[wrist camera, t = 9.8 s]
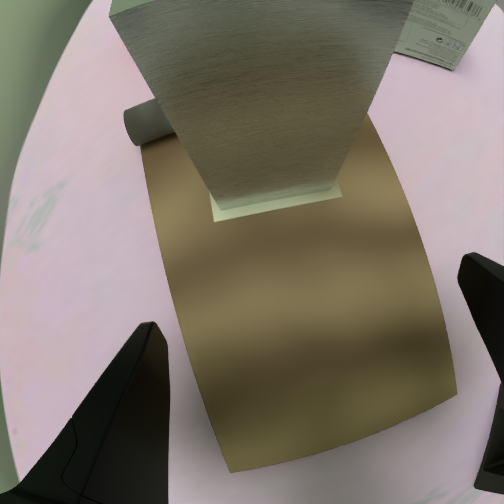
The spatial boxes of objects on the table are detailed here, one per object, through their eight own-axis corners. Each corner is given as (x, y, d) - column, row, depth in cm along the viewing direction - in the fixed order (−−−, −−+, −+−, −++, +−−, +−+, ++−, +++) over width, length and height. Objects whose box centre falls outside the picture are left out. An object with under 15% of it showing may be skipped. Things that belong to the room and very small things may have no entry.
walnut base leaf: (448, 389, 15) (478, 404, 12) (232, 463, 16) (224, 494, 12) (338, 78, 19) (347, 43, 16) (143, 131, 19) (122, 103, 16)
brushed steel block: (330, 190, 17) (420, -17, 4) (220, 210, 17) (108, 16, 4) (306, 111, 17) (330, -91, 5) (207, 129, 18) (132, -65, 5)
